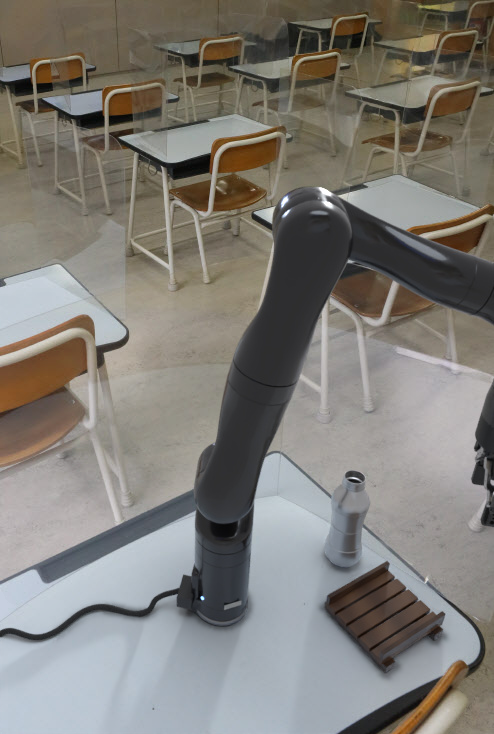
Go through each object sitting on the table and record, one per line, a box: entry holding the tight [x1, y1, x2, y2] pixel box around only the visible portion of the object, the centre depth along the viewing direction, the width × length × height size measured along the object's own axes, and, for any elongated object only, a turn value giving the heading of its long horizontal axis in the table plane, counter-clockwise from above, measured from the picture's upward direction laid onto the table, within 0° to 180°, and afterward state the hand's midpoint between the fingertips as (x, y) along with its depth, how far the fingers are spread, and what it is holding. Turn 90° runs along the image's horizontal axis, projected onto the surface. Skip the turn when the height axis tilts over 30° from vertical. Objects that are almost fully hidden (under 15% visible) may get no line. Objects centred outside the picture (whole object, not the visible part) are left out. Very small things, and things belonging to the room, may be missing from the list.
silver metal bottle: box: [324, 469, 371, 568], centre depth 122 cm, size 6×7×20 cm
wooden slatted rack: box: [323, 560, 446, 674], centre depth 114 cm, size 14×14×4 cm
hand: (483, 503), depth 102 cm, fingers open, 8 cm apart
